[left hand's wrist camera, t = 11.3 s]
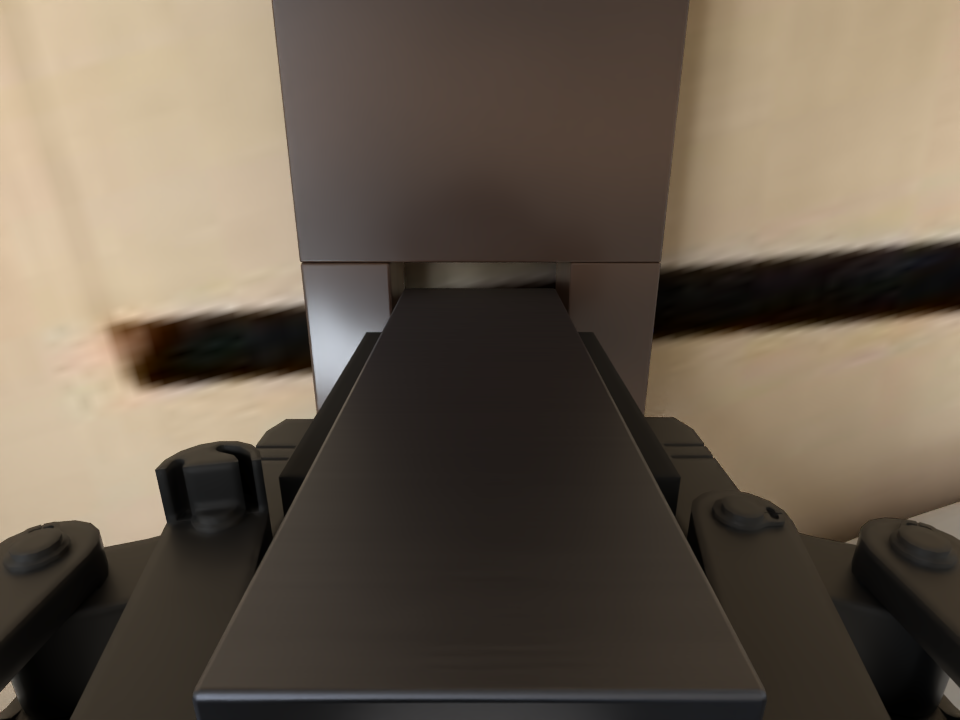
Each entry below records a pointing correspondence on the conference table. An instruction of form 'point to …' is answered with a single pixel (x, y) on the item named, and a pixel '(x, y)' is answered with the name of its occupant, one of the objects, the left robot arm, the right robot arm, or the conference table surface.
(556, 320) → the peg
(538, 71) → the peg board
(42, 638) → the left robot arm
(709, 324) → the conference table surface
